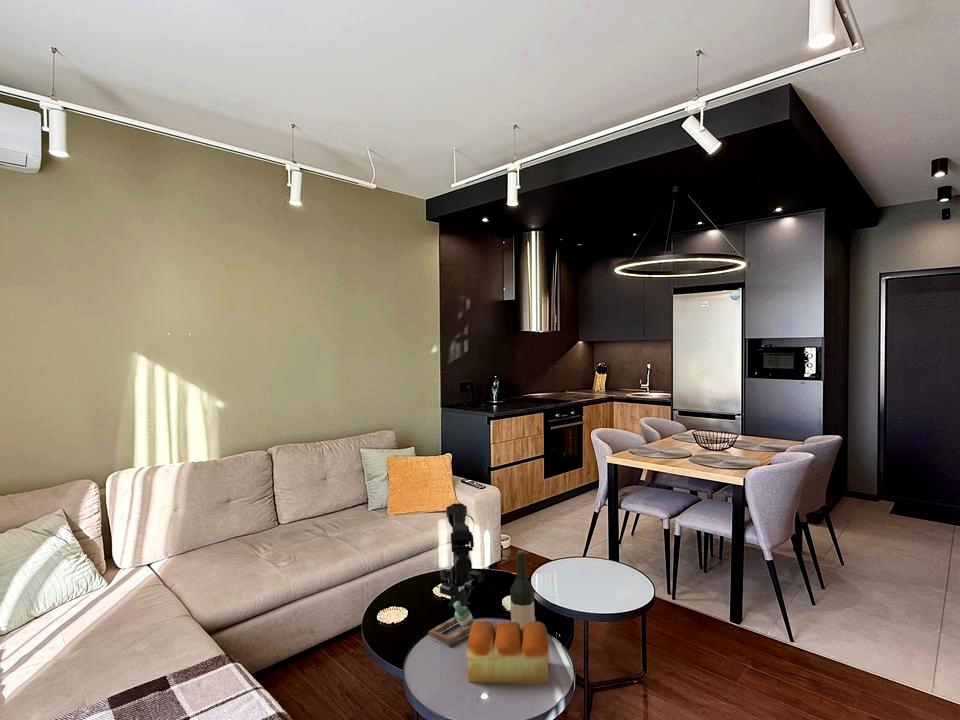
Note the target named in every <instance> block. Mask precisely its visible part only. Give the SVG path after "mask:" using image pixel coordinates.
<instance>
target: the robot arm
mask: <svg viewBox="0 0 960 720" xmlns="http://www.w3.org/2000/svg"><path fill="white" fill-rule="evenodd" d="M445 512H446V518H447V520H448V523H449V525H450V526H451V530H452V532H450V545H451V546H450V548H451V553H452V560H453V561H452V563H453V565H452V566H451V568H448V569H445V568H444V569H441V570H439V578H440V579H441V580H443V581H447V580H448V581H447V582H445V583H443V584H441V585H440V586H439V594H442V595H445V596H448V597H450V602H449V603H448V604H447V605H448V606H449V607H451V608H454V606H453V605H454V603H455V602H456V601H460V603H461V605H462V606H463V607H464V606H466V607H467V606H469V605H470V604H471V602H470V601H468V599H469V597H470V595H471V593H472V591H473V589H474V588H475V586H474V585H473V584H472V581H475V580H476V582H477V583H482V582H483V581H484V580H485V579H484V577H485V576H484V575H483V573H482V572H481V571H477V570H474V569H473V563H472V561H471V557H470V552H473V550H474V547H475V543H474V535H473V533H472V531H470V527H469V525H467V524H466V517H467V515H468V509H467V505H465V504H464V503H461V502H460V503H451V504H450V505H449V506H446V509H445Z"/></svg>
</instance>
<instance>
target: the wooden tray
mask: <svg viewBox="0 0 960 720" xmlns="http://www.w3.org/2000/svg"><path fill="white" fill-rule="evenodd" d="M456 623H458V621H457V619H456V617H455V616H454V617H451V618H449V619H447V620H446V621H444V622H443V623H440V624H439V625H437V626H435V627H434V628H432V629H429V630H428V632H427V634H428V638H429V637H431V638H433V639H436V640H438V641H440V642H441V643H444V644H445V645H448V646H450V645H452V644H453V643H455V642H457V641H458V640H459V639H461V638H462V637H464V636H466V635H467V634H469V633H470V629H471V626H472V623H471V624H470V625H468V626H466V627H464V628H461V629H460V630H458V631H456V632H454V633H453V634H451V635H449V636H448V635H445V634H444V633H442V634H441V633H440V632H442V631H444V630H446V629H447V628H449V627H450V626H453V625H454V624H456ZM458 642H459V641H458ZM458 642H457V643H458ZM455 644H456V643H455ZM445 645H444V646H445ZM452 646H453V645H452ZM450 647H451V646H450Z"/></svg>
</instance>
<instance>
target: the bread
mask: <svg viewBox="0 0 960 720" xmlns="http://www.w3.org/2000/svg"><path fill="white" fill-rule="evenodd" d="M466 659H467V663H468V664H467V667H468V671H467V672H468V683H488V684H489V683H492V684H493V683H494V684H495V683H496V684H522V685H523V684H527V685H528V684H529V685H530V684H531V685H549V661H550V653H549V639H548V629H547V626H546V625H545V624H544V623H543V622H541V621H535V622H527V623H525V624H524V625H523V627H522V636H521V628H520V625H519V623H517V622H511V621H499V622H498V623H497V624H496V626H495V625H494V624H493V622H490V621H488V620H475V621H473V623H472V626H471V629H470V634H469V635H468V639H467V644H466Z"/></svg>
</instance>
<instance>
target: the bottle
mask: <svg viewBox="0 0 960 720" xmlns="http://www.w3.org/2000/svg"><path fill="white" fill-rule="evenodd" d="M453 606H454V607H453V608H454V609H455V612H454V617H456V619H457V621H458V623H459V624H458V625H459V626H460V627H466V626H468V625H470V624H471V623H474V622H475V621H474V617H473V615H472V613H471V611H470V609H469V608H468V607H467V606H464V607H463V606H462V605H461V603H460V601H456V602H455V603H454V605H453Z"/></svg>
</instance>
